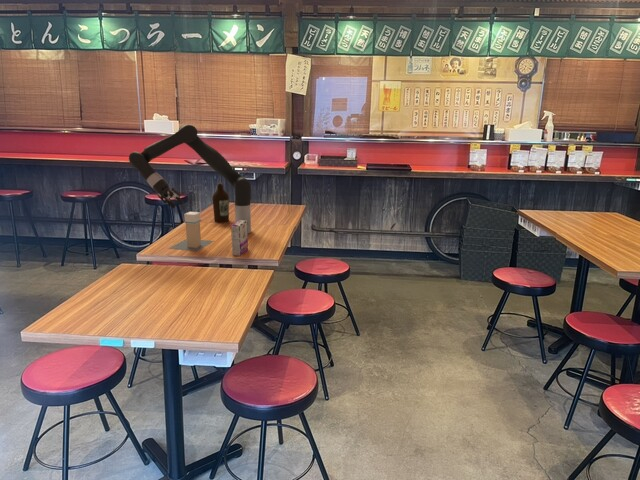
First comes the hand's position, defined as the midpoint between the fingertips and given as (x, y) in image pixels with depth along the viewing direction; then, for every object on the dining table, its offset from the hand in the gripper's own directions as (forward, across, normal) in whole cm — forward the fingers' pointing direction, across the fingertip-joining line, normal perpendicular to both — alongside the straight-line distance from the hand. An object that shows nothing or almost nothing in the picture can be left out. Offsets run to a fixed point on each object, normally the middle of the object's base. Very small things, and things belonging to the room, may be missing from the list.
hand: (178, 205), depth 259 cm
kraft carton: (+21, 0, +10) cm, 23 cm away
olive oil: (+13, +60, +20) cm, 64 cm away
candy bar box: (+41, -1, -8) cm, 42 cm away
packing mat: (+20, +2, +12) cm, 23 cm away
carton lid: (+12, 0, +1) cm, 12 cm away
